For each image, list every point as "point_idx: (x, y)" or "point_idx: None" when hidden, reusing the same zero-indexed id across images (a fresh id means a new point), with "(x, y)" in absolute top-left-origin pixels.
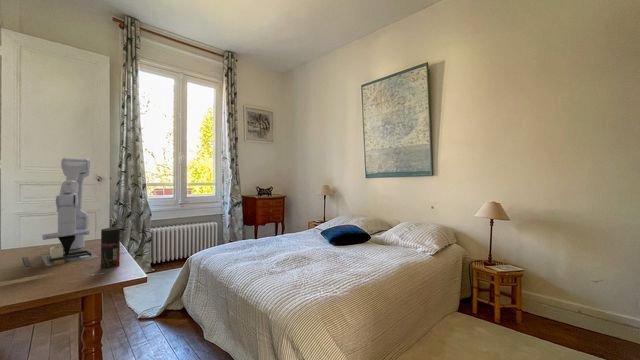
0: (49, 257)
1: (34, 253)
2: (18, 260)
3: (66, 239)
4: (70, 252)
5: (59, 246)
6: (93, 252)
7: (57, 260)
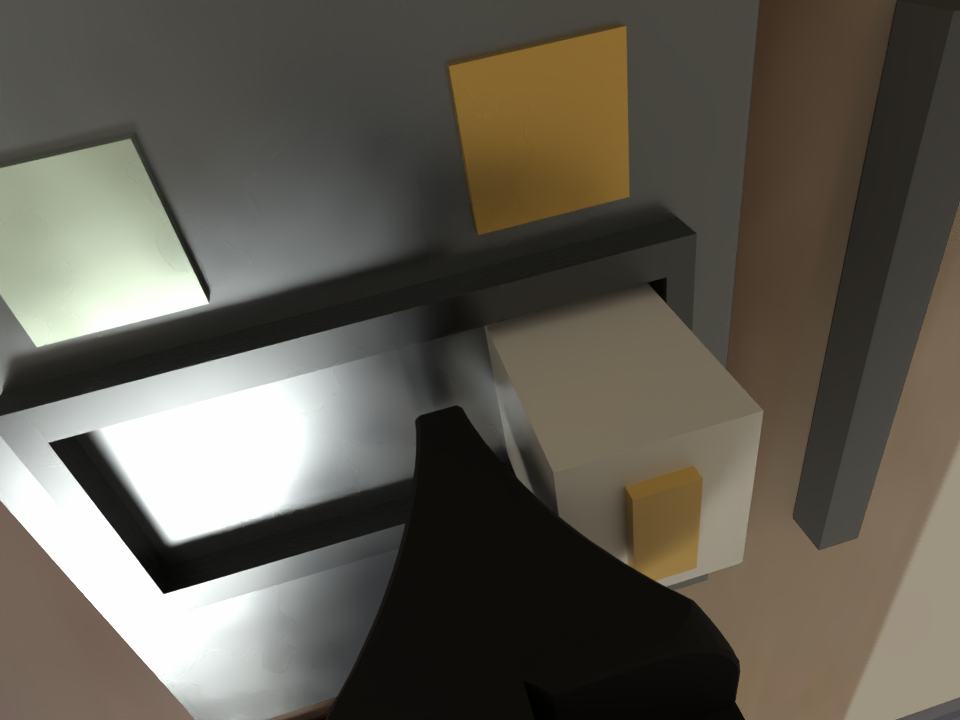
0: None
1: None
2: None
3: (570, 672)
4: None
5: None
6: (23, 525)
7: (568, 168)
